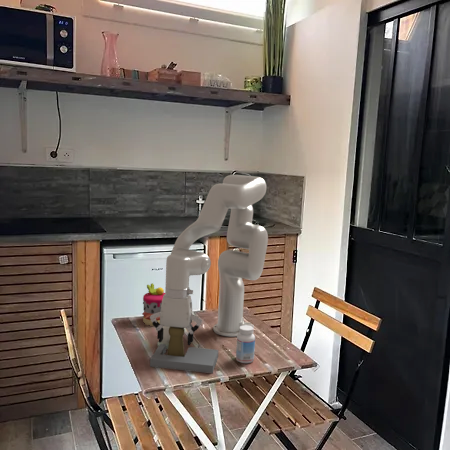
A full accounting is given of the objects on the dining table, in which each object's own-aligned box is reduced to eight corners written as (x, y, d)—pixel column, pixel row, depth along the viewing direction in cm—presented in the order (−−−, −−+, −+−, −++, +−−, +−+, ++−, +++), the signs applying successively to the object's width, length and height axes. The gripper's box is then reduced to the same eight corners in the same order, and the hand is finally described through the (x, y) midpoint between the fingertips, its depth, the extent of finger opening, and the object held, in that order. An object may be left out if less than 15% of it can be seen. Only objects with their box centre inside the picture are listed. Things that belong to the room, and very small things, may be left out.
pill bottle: (255, 357, 155) (257, 326, 153) (250, 365, 149) (253, 332, 147) (238, 354, 157) (240, 323, 155) (233, 361, 151) (235, 329, 149)
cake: (171, 318, 188) (172, 282, 185) (165, 327, 177) (166, 290, 175) (146, 316, 189) (147, 280, 186) (139, 325, 178) (139, 288, 176)
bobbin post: (177, 342, 164) (178, 315, 162) (173, 349, 158) (174, 322, 156) (160, 340, 165) (161, 314, 163) (155, 348, 158) (156, 320, 157)
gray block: (218, 356, 154) (218, 349, 154) (212, 373, 142) (212, 365, 142) (160, 350, 156) (160, 343, 156) (150, 366, 144) (150, 359, 144)
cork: (181, 362, 148) (182, 330, 147) (163, 360, 149) (164, 328, 148) (187, 355, 154) (188, 323, 152) (169, 352, 155) (170, 321, 154)
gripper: (205, 291, 151) (203, 340, 153) (154, 286, 153) (152, 335, 156) (201, 298, 144) (198, 349, 146) (147, 293, 146) (146, 344, 148)
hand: (175, 342), depth 151 cm, fingers open, 9 cm apart
